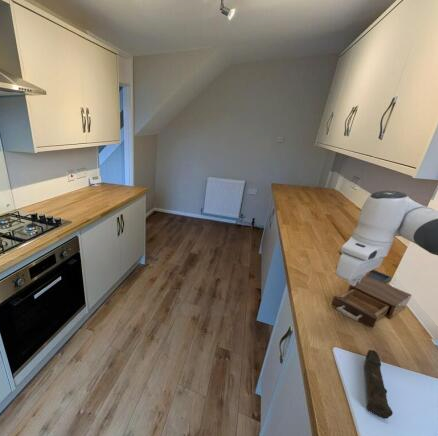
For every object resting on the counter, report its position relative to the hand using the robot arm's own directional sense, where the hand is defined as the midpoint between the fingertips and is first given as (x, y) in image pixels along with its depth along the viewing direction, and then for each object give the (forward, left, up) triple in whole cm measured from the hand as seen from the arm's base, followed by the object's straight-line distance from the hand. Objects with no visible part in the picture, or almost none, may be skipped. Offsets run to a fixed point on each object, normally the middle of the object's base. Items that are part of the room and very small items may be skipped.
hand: (353, 283), depth 75 cm
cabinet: (0, -26, -17) cm, 31 cm away
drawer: (0, -11, -16) cm, 19 cm away
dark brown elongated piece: (-15, +16, -17) cm, 27 cm away
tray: (+11, -44, -17) cm, 48 cm away
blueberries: (+24, -60, -17) cm, 67 cm away
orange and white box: (+11, -44, -16) cm, 48 cm away
